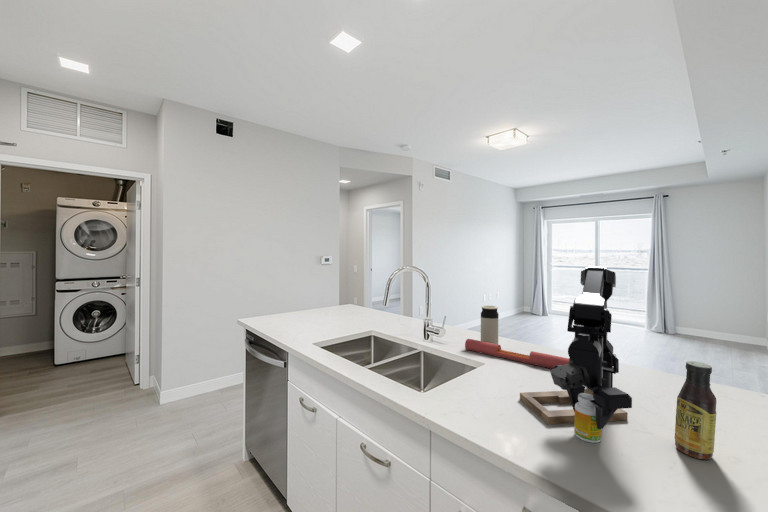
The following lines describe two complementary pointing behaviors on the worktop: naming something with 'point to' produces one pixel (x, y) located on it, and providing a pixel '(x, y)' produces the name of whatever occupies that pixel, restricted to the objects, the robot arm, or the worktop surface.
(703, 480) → the worktop surface
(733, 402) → the worktop surface
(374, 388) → the worktop surface
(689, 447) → the sauce bottle
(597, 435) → the supplement bottle
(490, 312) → the travel mug
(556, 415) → the brown wooden frame
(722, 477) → the worktop surface
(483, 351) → the blood vessel
